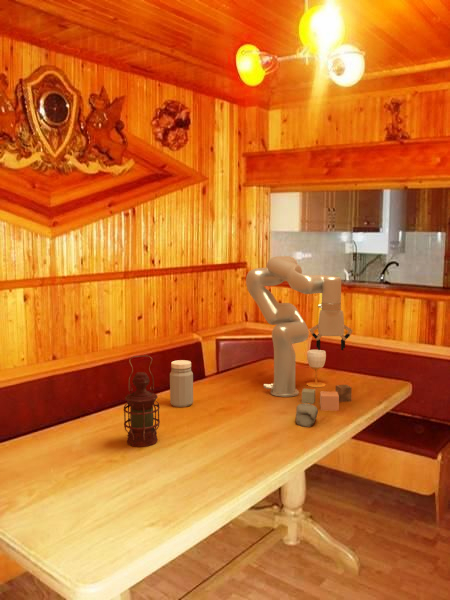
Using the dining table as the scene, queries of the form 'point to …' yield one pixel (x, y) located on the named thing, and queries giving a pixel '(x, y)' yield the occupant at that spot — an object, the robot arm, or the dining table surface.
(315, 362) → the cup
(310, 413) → the stone
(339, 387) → the walnut block
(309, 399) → the greygreen block
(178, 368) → the jar
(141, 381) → the lantern
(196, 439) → the dining table surface
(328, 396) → the terracotta block
